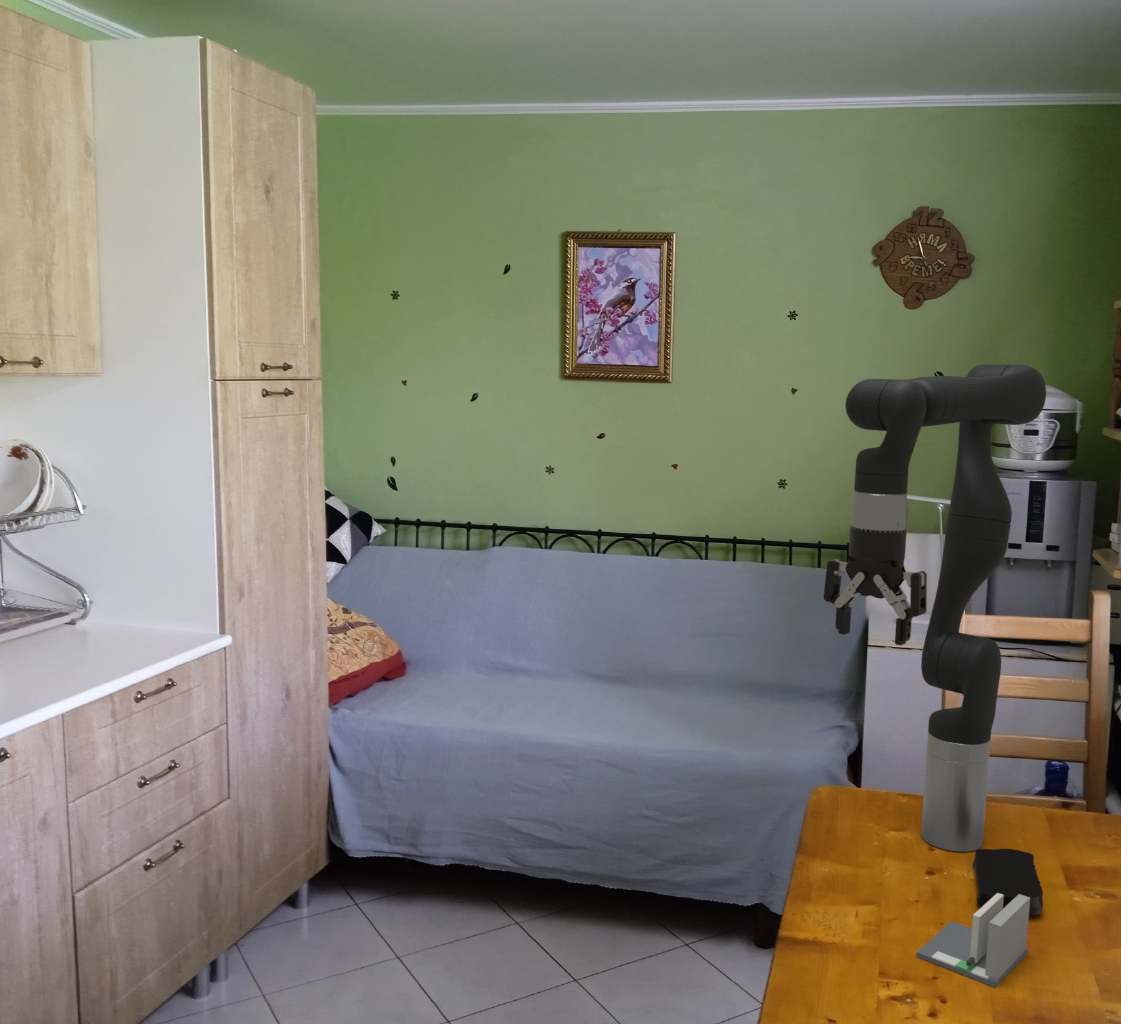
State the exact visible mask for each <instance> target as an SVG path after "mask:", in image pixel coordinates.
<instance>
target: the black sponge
mask: <svg viewBox="0 0 1121 1024" xmlns="http://www.w3.org/2000/svg"><path fill="white" fill-rule="evenodd" d="M1034 858H1035V857H1034V854H1032V853H1030V852H1027V851H1022V850H1019V849H1014V848H995V849H993V848H979V849H977V850H975V853H974V859H973V862H972V868H973V870H974V873H975V878H976V885H977V896H976V904H977V906H978V907H979V909H980V908H981V907H982V906H984V905H985V904H986V903H987V902H988V901H989V900H990V899H991V898H992V897H993V896H995V895H996V894H997V893H1000V894H1003V895H1004V899H1003V909H1004V908H1005V907H1006V906H1007V905H1008V904H1009V903H1010V902H1011V901H1012V900H1013V899H1014V898H1015V897H1016V896H1017V895H1018V894H1020V895H1023V896H1027V897H1030V907H1029V916H1030V915H1039V914H1042V913H1043V907H1044V898H1043V895H1044V894H1043V893H1044V892H1043V888H1042V886H1041V881H1040V879H1039V876H1038V874H1037V869H1036V865H1035V863H1034Z"/></svg>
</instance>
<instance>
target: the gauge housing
mask: <svg viewBox="0 0 1121 1024" xmlns="http://www.w3.org/2000/svg"><path fill="white" fill-rule="evenodd" d="M1029 907H1030V897H1027V896H1023V895H1020V894H1018V895H1017V896H1016V897H1015V898H1014V899H1013V900H1012V901H1011V902H1010V903H1009V904H1008V905H1007V906H1006V907H1005V908H1004V909H1003V910H1002V911H1000V912H999V913H998V914H997V915H996V916H995V917H994V918H993V919H992V920H991V921H990V922H989V930H988V943H987V953H986V954H985V955H984V956H983V957H982V958H981V959H980V960H979V961H978V962H977V963H974V964H973V965H972V966H971V967H970V966H967V965H966V963H967V961H968V960H969V959H970V949H971V936H972V927H970V926H967V925H964V924H961V923H958V922H956V921H953V920H951V921H950V922H948V924H946V925H945V926H944V927H943V928H942V929H941V930H940V931H939V932H938V933H936V934H935V935H934V936H932V938H930V940H928V941H927V942H926V943H925V944H924V945H923V946H922V947H920V949H918V950H916V953H915V957H917V958H918V959H922V960H924V961H927V962H929V963H931V964H934V965H937V966H939V967H941V968H944V969H947V970H949V971H951V972H955V973H957V974H958V975H959V974H960V975H962V976H964V977H968V978H970V979H973V980H975V981H978V982H980V983H982V984H986V985H988V986H990V987H993V988H996V987H998V986H999V984H1001V982H1002V981H1003V980H1004V979H1005V978H1006V977H1007V976H1008V975H1009V973H1010V972H1011V971H1013V969H1014V968H1015V967H1016V966H1017V965H1018V964H1019V963H1020V962H1021V961H1022V960H1023V959H1024V958H1025V957H1026V955H1027V954H1028V953H1029V948H1028V947H1027V944H1028V943H1027V940H1028V931H1029V917H1030V915H1029Z"/></svg>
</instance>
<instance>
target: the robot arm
mask: <svg viewBox="0 0 1121 1024" xmlns="http://www.w3.org/2000/svg"><path fill="white" fill-rule="evenodd" d="M1046 398H1047V386H1046V382H1045V379H1044V377H1043V375H1042V374H1041V372H1040V371H1039V370H1037V369H1036V368H1035V367H1032V366H1030V365H1027V364H1026V365H1024V364H997V363H996V364H992V363H991V364H989V363H988V364H977V365H975V366H974V367H972V368H970V370H969V371H968V373H967V375H966V376H958V375H956V376H955V375H933V376H932V375H931V376H921V377H920V376H919V377H915V378H914V377H913V378H907V379H897V378H896V379H894V378H893V379H891V378H890V379H889V378H868V379H863V380H860V381H859V382H857V383H856V384H855V385H854V386H852V387H851V388H850V390H849V391H848V393H847V396H846V399H845V405H844V406H845V412H846V415H847V417H848V419H849V421H850V422H851V423H852V424H853V425H855V426H856V427H858V428H860V429H862V430H867V431H878V432H879V431H880V432H881V431H882V432H886V433H885V435H884V438H883V440H882V442H881V444H880V446H876V447H870V448H865V449H862V450H860V451H859V452H858V454H857V456H856V460H855V471H854V486H853V487H854V489H853V490H854V491H853V497H852V502H851V508H850V509H851V510H850V517H849V521H850V522H849V523H850V526H849V541H848V542H849V543H848V555H849V559H848V562H846V561H843V560H842V559H840V558H837V559H833V560H832V559H831V560H829V561H827V563H826V572H825V573H826V574H825V579H824V580H825V581H824V587H823V588H824V590H823V600H824V601H825V602H827V603H830V604H833V605H834V606H835V609H836V610H835V629H836V630H837V631H838V635H844V636H845V635H847V634H849V633H850V631H851V618H852V607H850V604H851V603H852V602H853V601H854V600H855V599H856V597H858V596H859V595H860V596H862V597H870V596H871V597H872V598H873V597H874V598H875V599H880V600H882V599H885V600H886V602H887V604H888V606H890V607H891V608H892V609H893V610H894V613H895V614H896V615H897V618H896V621H895V634H894V635H895V636H894V644H895V645H896V646H904V645H905V644H907V642H908V641H910V639H911V636H912V635H911V634H912V622H913V618H917V617H919V616H923V615H924V614H926V613H927V604H928V603H927V589H928V588H927V585H928V584H927V581H928V579H927V578H928V577H927V576H928V575H927V572H926V571H924V570H920V571H906V568H905V559H906V548H907V547H906V546H907V545H906V544H907V530H908V529H907V528H908V526H907V525H908V514H909V513H908V511H909V506H908V494H907V493H908V482H909V481H908V480H909V469H910V463H911V459H912V456H913V452H914V450H915V446H916V443H917V440H918V437H919V434H920V432H921V430H922V427H923V428H924V427H934V426H940V425H948V424H955V423H959V426H958V441H957V442H958V443H957V455H956V462H955V463H956V465H955V473H954V479H953V485H952V486H953V487H952V492H951V499H950V504H949V508H948V513H947V514H948V515H947V521H946V528H945V534H944V543H943V549H942V550H943V551H942V557H941V563H940V571H939V577H938V582H937V586H936V587H937V589H936V593H935V598H934V602H933V606H932V611H931V613H930V618H929V621H928V626H927V630H926V632H925V633H926V634H925V638H924V643H923V647H922V651H921V652H922V653H921V663H920V664H921V665H920V667H921V668H920V669H921V675H922V678H923V680H924V682H925V683H926V684H927V685H929V686H931V687H934V688H937V689H940V690H945V691H949V692H953V693H956V694H959V695H963V698H962V703H961V706H960V707H951V708H950V707H949V708H942V709H938V710H936V711H933V712H932V713H931V714H930V716H929V718H928V726H927V727H928V728H927V730H928V731H927V742H926V758H925V760H926V761H925V774H924V784H923V785H924V787H923V803H922V816H921V817H922V818H921V832H920V834H921V835H920V836H921V838H922V839H923V840H924V841H925V842H926V843H928V844H930V845H932V846H933V847H936V848H939V849H942V850H947V851H952V852H966V853H967V852H972V851H976V850H978V849H982V847H983V843H984V830H985V829H984V828H985V819H986V808H987V807H986V806H987V805H986V804H987V792H988V778H989V777H988V776H989V765H990V763H989V762H990V752H991V751H990V749H991V738H992V737H991V736H992V729H993V724H994V721H995V717H996V711H997V710H996V709H997V702H998V701H997V700H998V692H999V686H1000V679H1001V672H1002V653H1001V649H1000V647H999V644H997V642H996V641H995V640H993V639H991V638H987V637H984V636H983V637H982V636H978V635H977V636H976V635H973V634H967V633H963V632H959V631H960V627H961V622H962V619H963V615H964V612H965V610H966V607H967V605H968V604H969V601H970V599H971V598H972V597H973V595H975V593H976V591H977V590H978V589H979V588H980V587H981V586H982V585H983V583H984V582H985V581H986V580H987V579H988V578H989V577H990V576H991V574H993V573H994V571H995V570H996V569H997V567H999V565H1000V564H1001V563H1002V561H1003V559H1004V558H1005V555H1006V553H1007V549H1008V544H1009V538H1010V532H1011V525H1012V524H1011V523H1012V517H1013V516H1012V515H1013V513H1012V512H1013V511H1012V507H1011V502H1010V500H1009V497H1008V494H1007V491H1006V490H1005V487H1004V485H1003V483H1002V480H1001V478H1000V476H999V474H998V472H997V470H996V467H995V463H994V461H993V457H992V429H993V425H1009V426H1011V425H1012V426H1013V425H1014V426H1017V425H1025V424H1029V423H1031V422H1033V421H1034V420H1035V419H1037V418H1038V417H1039V416H1040V415H1041V413H1042V411H1043V410H1044V406H1045V403H1046ZM845 573H846V574H847V576H848V578H849V579H850V582H849V583H848V584H847V586H845V588H844V589H843V590H842V593H841V584H842V577H843V576H844V575H845ZM904 581H906V583H907V586H908V587H909V589H910V595H909V596H910V597H909V598H910V599H909V600H910V603H909V601H908V599H907V598H908V596H907V595H906V593H905V591H904V590H903V588H902V586H901V585H902V584H903V582H904ZM840 593H841V594H840Z"/></svg>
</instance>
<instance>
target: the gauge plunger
mask: <svg viewBox="0 0 1121 1024" xmlns="http://www.w3.org/2000/svg"><path fill="white" fill-rule="evenodd" d="M1003 899H1004V895H1003V894H1000V893H997V894H996V895H995V896H993V897H992V898H991V899H990V900H989V901H988V902H987V903H986V904H985V905H984V906H982V907H981V908H980V907H979V909H978V910H977V911H976V912H974V913H973V915H972V923H971V924H972V926H971V928H972V936H971V949H970V959H969V960H968V961H967V963H966V965H967V966H970V967H971V966H972V965H973V964H974V963H977V962H978V961H979V960H980V959H981V958H982V957H983V956H984V955H985V954H986V953H987V943H988V930H989V922H990V921H991V920H992V919H993V918H994V917H995V916H996V915H997V914H998V913H999V912H1000V911H1002V910H1003Z"/></svg>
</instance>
